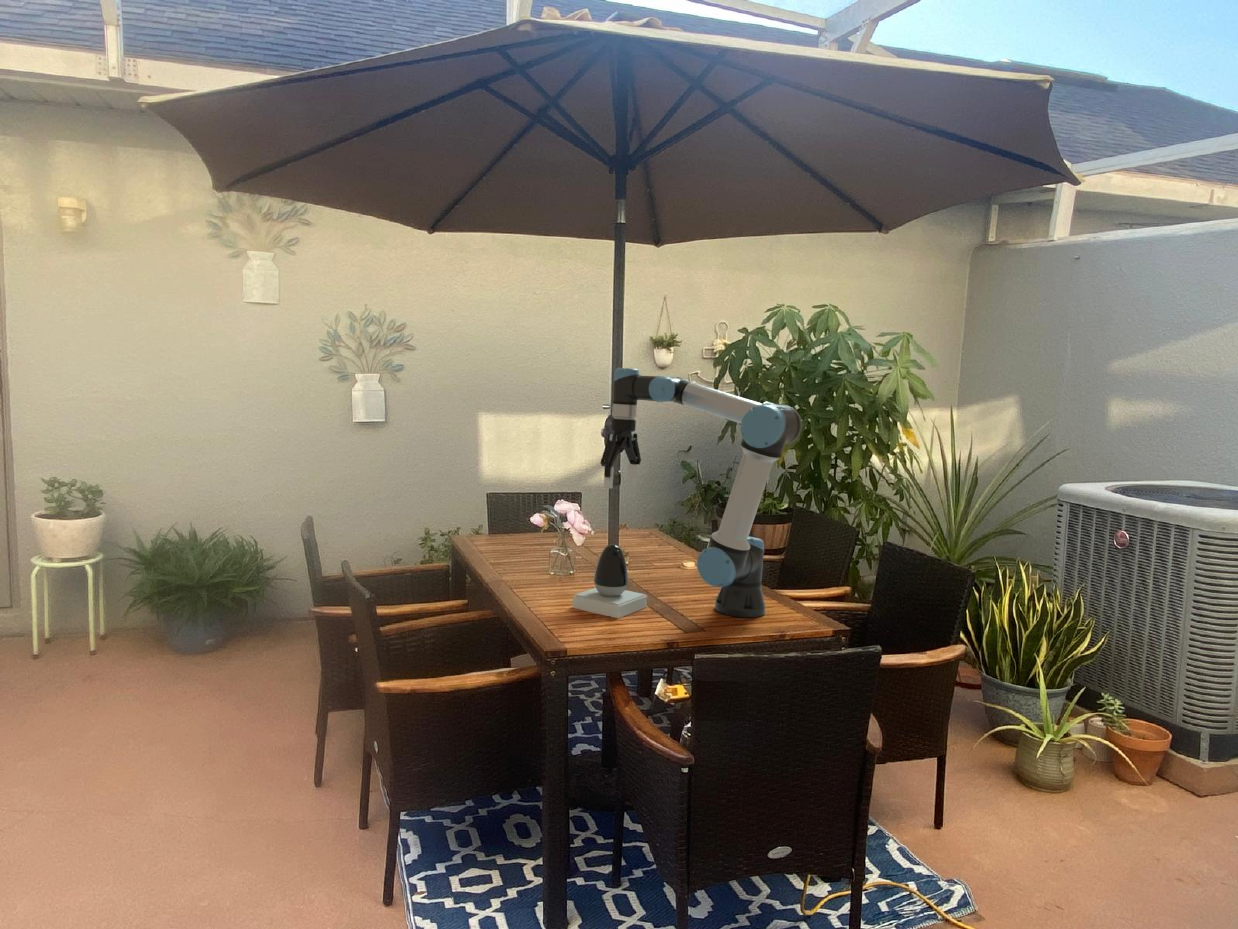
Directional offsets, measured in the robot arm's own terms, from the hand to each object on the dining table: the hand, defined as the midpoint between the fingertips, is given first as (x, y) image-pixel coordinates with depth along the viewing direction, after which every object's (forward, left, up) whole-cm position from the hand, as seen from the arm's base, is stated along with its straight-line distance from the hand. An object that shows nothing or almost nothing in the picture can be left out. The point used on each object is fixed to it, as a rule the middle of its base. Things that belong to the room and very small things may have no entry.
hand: (619, 486), depth 259 cm
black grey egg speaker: (-7, +13, -31) cm, 34 cm away
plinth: (-7, +13, -35) cm, 38 cm away
